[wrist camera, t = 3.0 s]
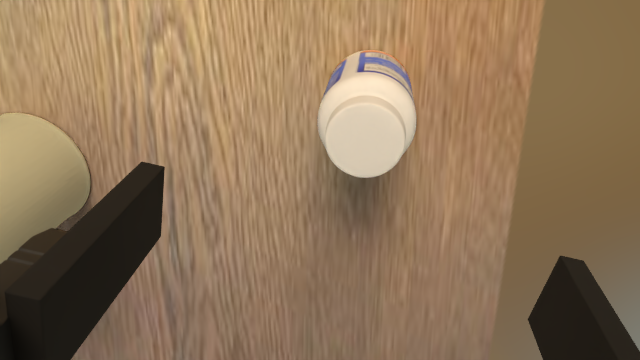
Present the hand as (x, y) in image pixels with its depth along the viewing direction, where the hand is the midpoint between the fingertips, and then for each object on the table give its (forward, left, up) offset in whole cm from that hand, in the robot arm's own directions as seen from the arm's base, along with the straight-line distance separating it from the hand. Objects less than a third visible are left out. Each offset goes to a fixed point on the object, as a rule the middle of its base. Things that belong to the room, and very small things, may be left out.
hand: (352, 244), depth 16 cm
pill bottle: (0, 0, -19) cm, 19 cm away
